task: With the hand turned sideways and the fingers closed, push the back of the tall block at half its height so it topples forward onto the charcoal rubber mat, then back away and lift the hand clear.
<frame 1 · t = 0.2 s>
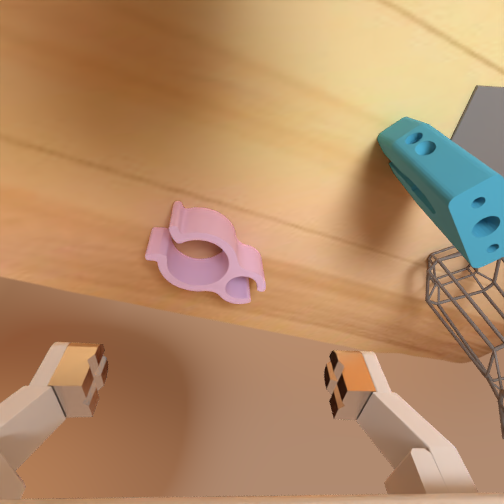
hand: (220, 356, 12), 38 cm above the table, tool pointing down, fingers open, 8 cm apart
clip: (212, 243, 58), on the table
block: (401, 147, 48), on the table
geometric lantern: (449, 258, 65), on the table
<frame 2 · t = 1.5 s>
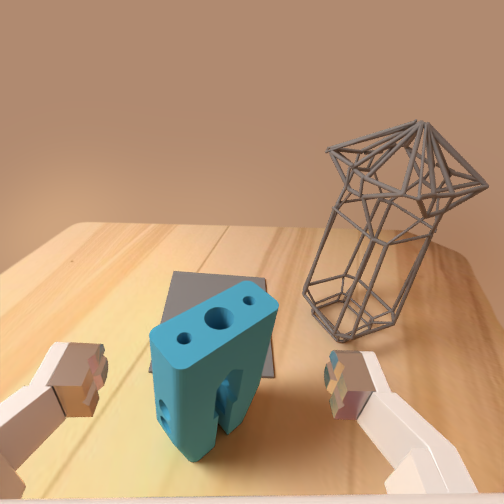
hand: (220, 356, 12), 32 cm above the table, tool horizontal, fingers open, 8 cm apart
block: (208, 425, 41), on the table
geometric lantern: (338, 321, 59), on the table
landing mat: (216, 317, 56), on the table
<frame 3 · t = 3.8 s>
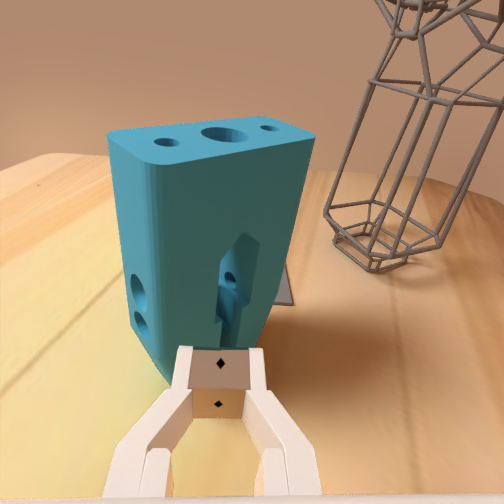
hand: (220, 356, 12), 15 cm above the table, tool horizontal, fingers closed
block: (207, 355, 30), on the table
geometric lantern: (365, 253, 48), on the table
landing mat: (216, 243, 44), on the table
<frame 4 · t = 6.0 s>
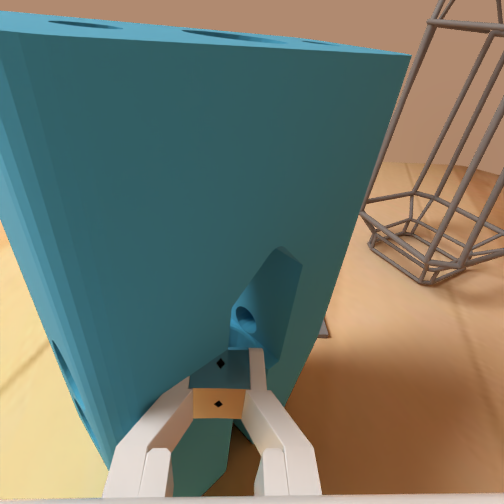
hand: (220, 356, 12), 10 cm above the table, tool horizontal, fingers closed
block: (211, 426, 20), on the table, touching gripper
geometric lantern: (411, 259, 38), on the table
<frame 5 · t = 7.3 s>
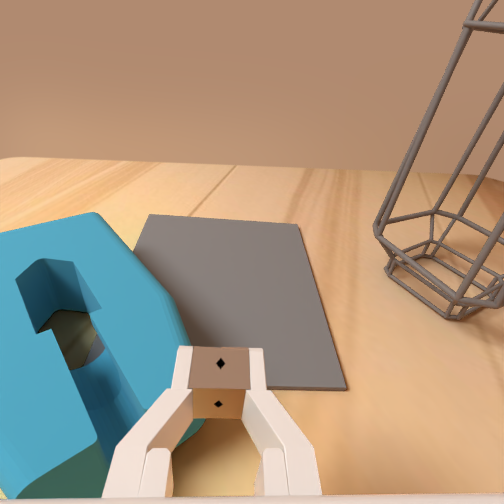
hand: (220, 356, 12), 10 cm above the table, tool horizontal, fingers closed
block: (132, 456, 15), point 3 cm above the table, touching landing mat
geometric lantern: (433, 287, 34), on the table
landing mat: (221, 281, 31), on the table
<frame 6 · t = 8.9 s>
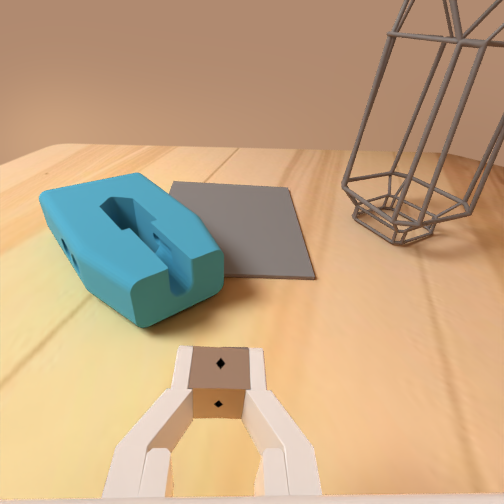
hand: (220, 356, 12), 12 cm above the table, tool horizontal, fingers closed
block: (183, 289, 27), point 3 cm above the table, touching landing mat
geometric lantern: (388, 227, 45), on the table
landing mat: (230, 222, 43), on the table
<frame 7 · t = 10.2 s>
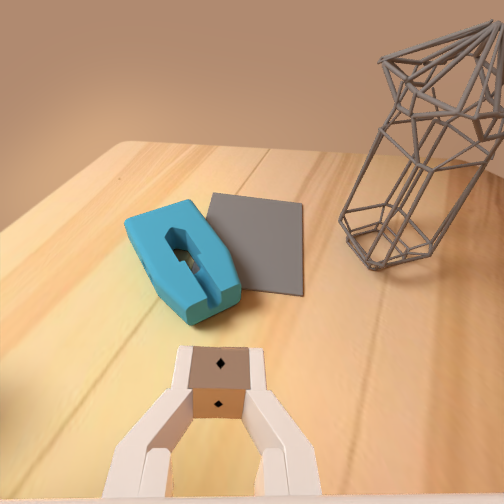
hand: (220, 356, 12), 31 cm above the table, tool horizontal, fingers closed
block: (215, 305, 45), point 3 cm above the table, touching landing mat
geometric lantern: (372, 250, 59), on the table
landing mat: (252, 238, 58), on the table
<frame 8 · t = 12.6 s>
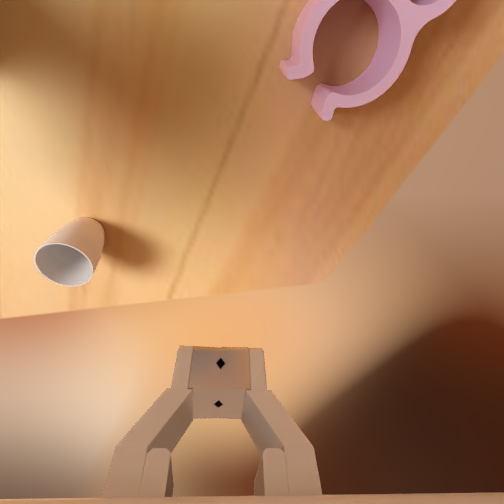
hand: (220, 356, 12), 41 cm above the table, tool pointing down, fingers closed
clip: (356, 25, 41), on the table
cup: (89, 229, 56), on the table
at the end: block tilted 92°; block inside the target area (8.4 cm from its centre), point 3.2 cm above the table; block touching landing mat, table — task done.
